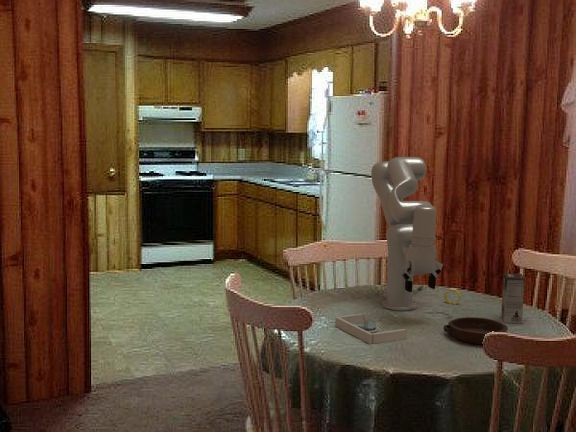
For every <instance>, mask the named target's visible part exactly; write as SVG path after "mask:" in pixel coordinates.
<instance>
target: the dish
mask: <svg viewBox="0 0 576 432" xmlns="http://www.w3.org/2000/svg"><path fill="white" fill-rule="evenodd" d="M508 329H509V328H508V326H507V325H506V323H504V322H501V321H497V320H494V319H490V318H485V317H473V316H472V317H471V316H468V317H466V316H465V317H459V318H454V319H450V321H448V324H445V325H443V331H444V332H445V333H448V334H451V335H453V336H454V337H455V338H456V339H457V340H460V341H462V342H466V343H469V344H474V345H483V344H482V342H483V339H484V336H485V334H487V333H489V332H492V331H494V332H506V333H507V331H508Z"/></svg>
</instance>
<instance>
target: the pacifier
mask: <svg viewBox="0 0 576 432" xmlns="http://www.w3.org/2000/svg"><path fill="white" fill-rule="evenodd" d="M368 313H369V312H368V311H364V312H363V313H362V314H363V320H364V323H362V325H357V327H360V328H362V329H364V330H366V331H368V332H370V333H378V332H379V328H378V327H376V323H375V322H374V321H372V320H370V321H369V315H368Z"/></svg>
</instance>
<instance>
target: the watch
mask: <svg viewBox="0 0 576 432" xmlns="http://www.w3.org/2000/svg"><path fill="white" fill-rule="evenodd" d="M448 292H455V293H457V295H458V300H457V302H451V301H450V300H448V298H447V294H448ZM461 297H462V296H461V294H460V292H459V290H458V289H457V288H455V287H450V288H449V289H448V290H446V292H445V293H444V300H445V302H446V303H447V304H450V305H457V304H459V302H460V301H461V299H462V298H461Z"/></svg>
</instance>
